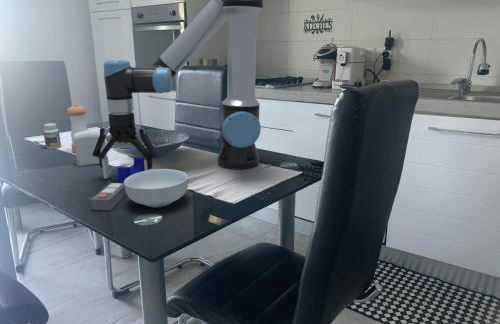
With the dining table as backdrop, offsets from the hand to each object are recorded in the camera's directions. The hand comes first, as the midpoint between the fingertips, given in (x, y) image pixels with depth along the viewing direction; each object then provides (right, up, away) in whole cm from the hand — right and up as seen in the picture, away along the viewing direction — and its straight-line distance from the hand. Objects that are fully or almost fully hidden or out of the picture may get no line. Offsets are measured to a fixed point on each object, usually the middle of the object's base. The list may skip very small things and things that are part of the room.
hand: (127, 177), depth 123 cm
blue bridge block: (+1, -1, 0) cm, 1 cm away
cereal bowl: (+14, -6, -17) cm, 23 cm away
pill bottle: (-43, +11, +38) cm, 58 cm away
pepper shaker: (-29, +9, +32) cm, 44 cm away
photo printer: (-18, +4, +16) cm, 24 cm away
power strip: (+1, -5, -16) cm, 17 cm away
